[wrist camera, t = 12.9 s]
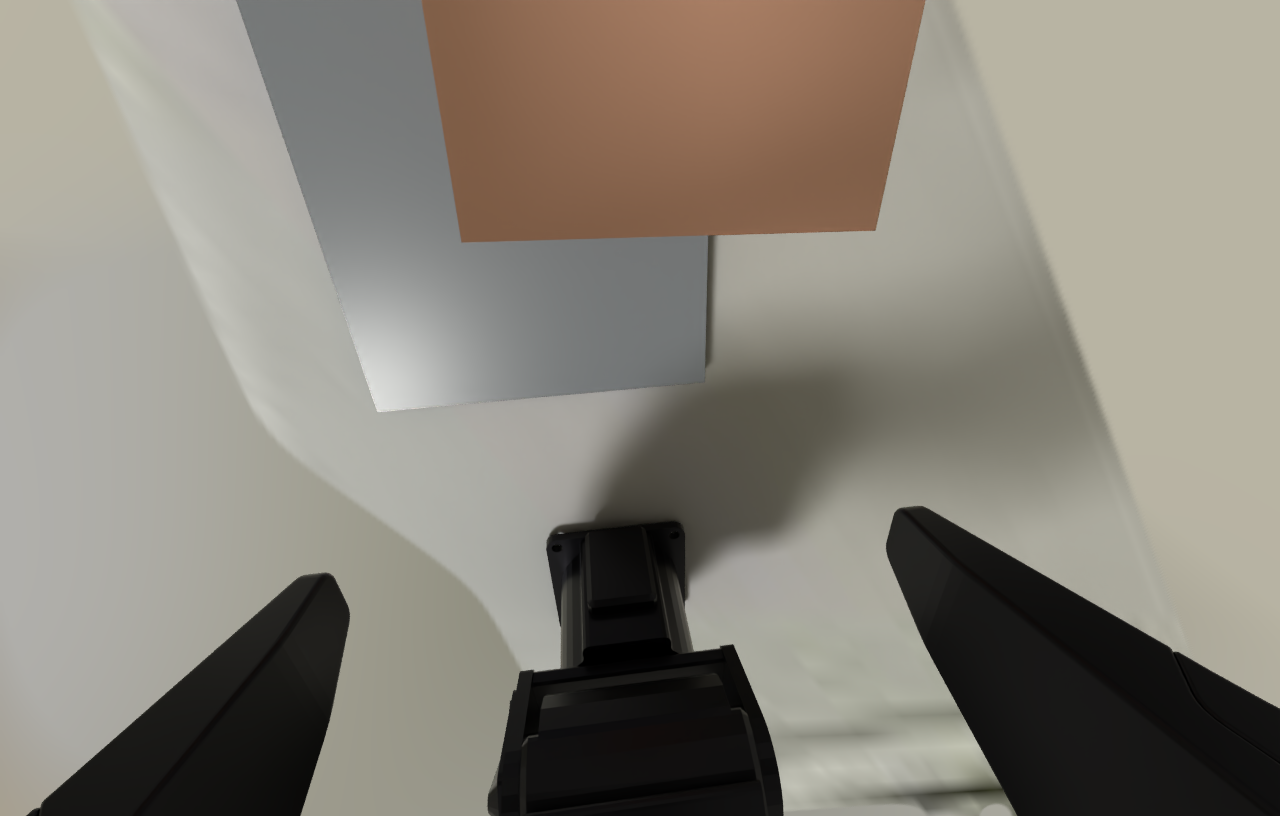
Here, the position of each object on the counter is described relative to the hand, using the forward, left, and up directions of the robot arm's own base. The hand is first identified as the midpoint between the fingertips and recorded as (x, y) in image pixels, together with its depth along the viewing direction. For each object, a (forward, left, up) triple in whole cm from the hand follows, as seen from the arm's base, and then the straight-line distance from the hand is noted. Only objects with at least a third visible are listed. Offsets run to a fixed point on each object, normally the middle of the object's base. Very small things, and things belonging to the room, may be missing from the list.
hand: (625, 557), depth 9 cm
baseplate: (+3, +2, -13) cm, 14 cm away
